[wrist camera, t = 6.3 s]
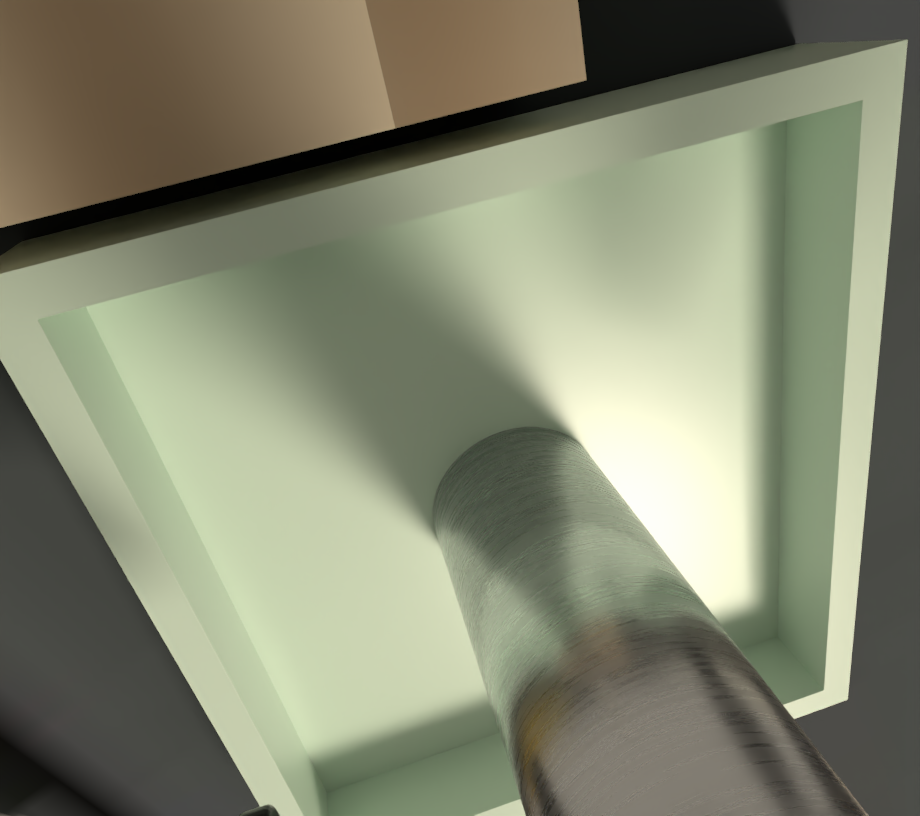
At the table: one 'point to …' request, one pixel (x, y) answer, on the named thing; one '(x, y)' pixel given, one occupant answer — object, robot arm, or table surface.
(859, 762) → the table surface
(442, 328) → the tray
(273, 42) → the block
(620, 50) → the table surface
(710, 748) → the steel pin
